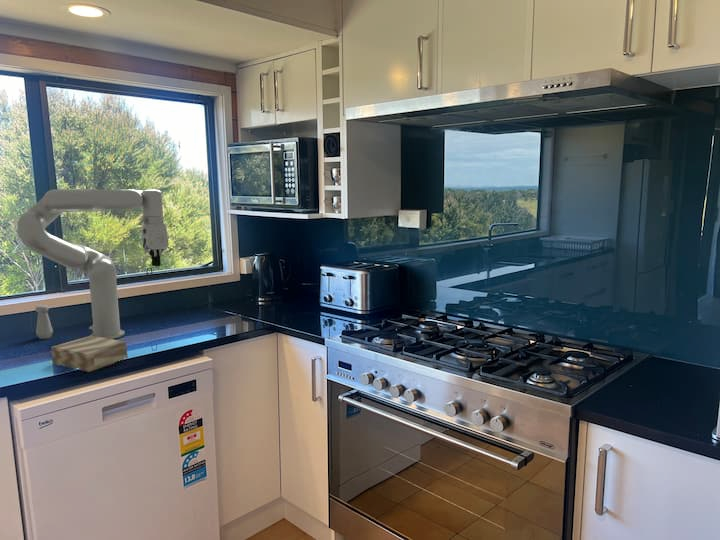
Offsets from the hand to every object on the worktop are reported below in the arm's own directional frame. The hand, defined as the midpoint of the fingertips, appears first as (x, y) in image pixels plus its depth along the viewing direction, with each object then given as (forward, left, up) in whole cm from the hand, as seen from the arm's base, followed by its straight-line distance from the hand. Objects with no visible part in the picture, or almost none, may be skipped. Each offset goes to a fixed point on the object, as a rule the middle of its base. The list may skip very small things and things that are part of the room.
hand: (156, 265), depth 218 cm
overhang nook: (+9, -40, -27) cm, 49 cm away
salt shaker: (-33, -28, -27) cm, 51 cm away
